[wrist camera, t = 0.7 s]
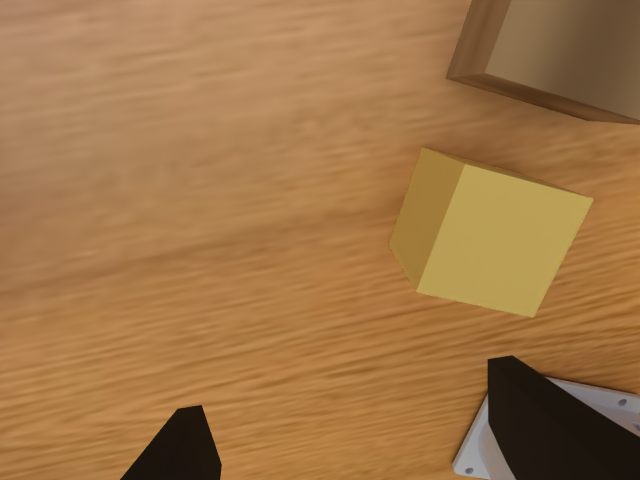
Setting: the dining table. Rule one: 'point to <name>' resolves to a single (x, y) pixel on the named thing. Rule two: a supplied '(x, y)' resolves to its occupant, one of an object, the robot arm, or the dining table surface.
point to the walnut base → (555, 55)
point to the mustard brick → (483, 233)
